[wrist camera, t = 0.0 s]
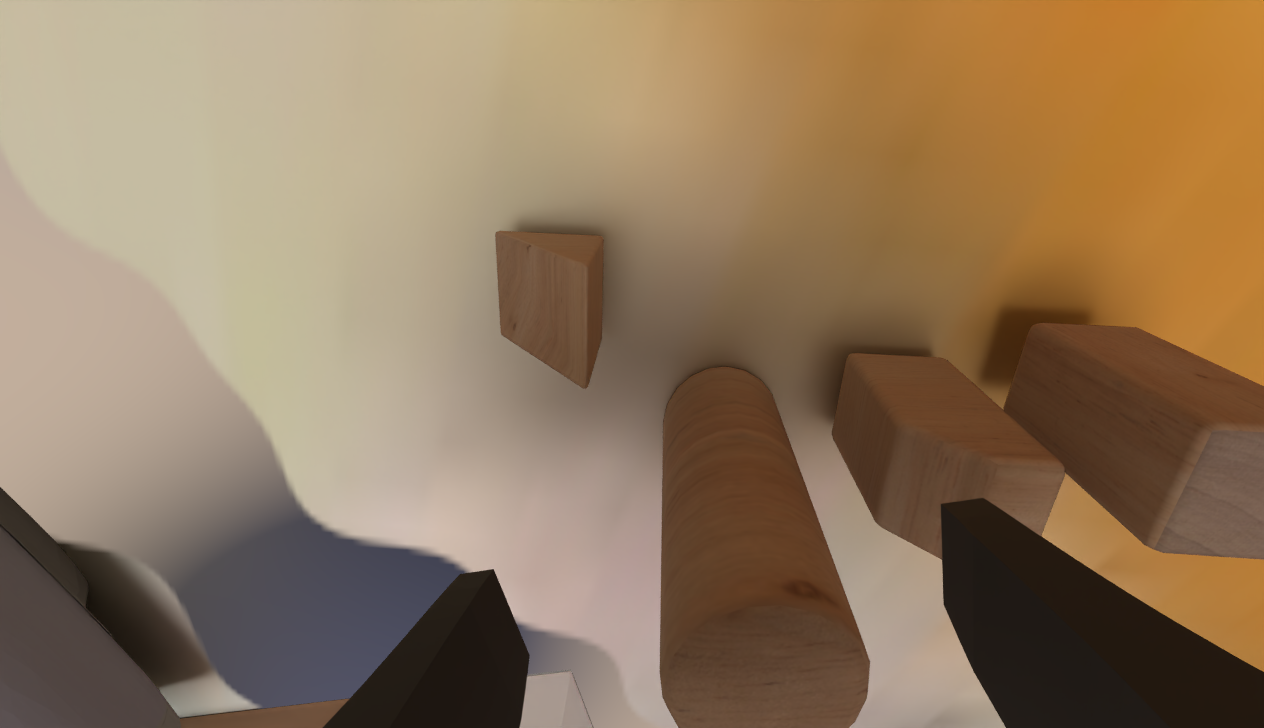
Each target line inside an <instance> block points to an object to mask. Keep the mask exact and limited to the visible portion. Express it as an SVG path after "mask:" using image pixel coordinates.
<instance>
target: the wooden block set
mask: <svg viewBox="0 0 1264 728" xmlns="http://www.w3.org/2000/svg"><path fill="white" fill-rule="evenodd" d="M495 236H496V254H497V272H498V290H499V308H500V326H501V334H502V335H503V336H504V337H506V338H507V339H509V340H510V341H512V342H513V343H515V344H516V345H518V346H519V347H521V348H522V349H524V350H525V351H527V352H529V353H530V354H532V355H533V356H535V357H536V358H538V359H539V360H541V361H542V362H544V363H545V364H547V365H548V366H550V367H551V368H553V369H554V370H556V371H558V372H559V373H561V374H562V375H564V376H565V377H567V378H568V379H570V380H571V381H573V382H574V383H576V384H577V385H579V386H580V387H582V388H585V389H586V388H587V387H588V385H589V381H590V378H591V374H592V371H593V367H594V364H595V360H596V357H597V353H598V350H599V346H600V343H601V339H602V298H603V241H604V240H603V237H602V236H595V235H574V234H553V233H532V232H511V231H498V232H496V234H495ZM832 436H833V439H834V441H835V443H836V445H837V447H838V449H839V451H840V453H841V455H842V457H843V459H844V461H845V463H846V465H847V467H848V469H849V471H850V473H851V475H852V477H853V479H854V481H855V483H856V485H857V487H858V489H859V490H860V492H861V494H862V496H863V498H864V500H865V502H866V504H867V506H868V508H869V510H870V512H871V514H872V516H873V518H874V520H875V522H876V523H877V524H878V525H880V526H881V527H882V528H884V529H886V530H888V531H889V532H891V533H893V534H895V535H897V536H899V537H901V538H903V539H904V540H906V541H908V542H910V543H912V544H914V545H916V546H918V547H919V548H921V549H923V550H925V551H927V552H929V553H931V554H933V555H935V556H936V557H938V558H940V559H942V533H941V504H943V503H950V502H957V501H964V500H970V499H977V498H985V499H986V500H988V501H989V502H991V503H992V504H994V505H995V506H997V507H998V508H1000V509H1001V510H1003V511H1004V512H1006V513H1007V514H1009V515H1010V516H1012V517H1013V518H1015V519H1016V520H1018V521H1019V522H1020V523H1022V524H1023V525H1025V526H1026V527H1028V528H1029V529H1031V530H1032V531H1034V532H1035V533H1037V534H1038V535H1040V536H1041V535H1042V532H1043V530H1044V527H1045V525H1046V522H1047V520H1048V517H1049V515H1050V512H1051V509H1052V507H1053V504H1054V502H1055V499H1056V497H1057V494H1058V492H1059V489H1060V487H1061V484H1062V481H1063V479H1064V476H1065V473H1066V474H1067V475H1069V476H1070V477H1071V478H1072V479H1073V480H1074V481H1075V482H1076V483H1077V484H1078V485H1080V486H1081V487H1082V488H1083V489H1084V490H1085V491H1086V492H1087V493H1088V494H1089V495H1090V496H1092V497H1093V498H1094V499H1095V500H1096V501H1097V502H1098V503H1099V504H1100V505H1101V506H1103V507H1104V508H1105V509H1106V510H1107V511H1108V512H1109V513H1110V514H1111V515H1112V516H1114V517H1115V518H1116V519H1117V520H1118V521H1119V522H1120V523H1121V524H1122V525H1123V526H1124V527H1126V528H1127V529H1128V530H1129V531H1130V532H1131V533H1132V534H1133V535H1134V536H1135V537H1137V538H1138V539H1139V540H1140V541H1141V542H1142V543H1143V544H1144V545H1146V546H1148V547H1150V548H1152V549H1154V550H1157V551H1160V552H1163V553H1174V554H1189V555H1204V556H1219V557H1235V558H1250V559H1264V386H1262V385H1260V384H1257V383H1255V382H1253V381H1251V380H1249V379H1247V378H1245V377H1242V376H1240V375H1238V374H1236V373H1234V372H1232V371H1229V370H1227V369H1225V368H1223V367H1221V366H1219V365H1217V364H1214V363H1212V362H1210V361H1208V360H1206V359H1204V358H1201V357H1199V356H1197V355H1195V354H1193V353H1191V352H1189V351H1186V350H1184V349H1182V348H1180V347H1178V346H1176V345H1173V344H1171V343H1169V342H1167V341H1165V340H1163V339H1161V338H1158V337H1156V336H1154V335H1152V334H1150V333H1148V332H1145V331H1143V330H1141V329H1139V328H1136V327H1117V326H1097V325H1078V324H1059V323H1038V324H1034V325H1033V326H1032V327H1031V328H1030V329H1029V331H1028V334H1027V338H1026V341H1025V344H1024V347H1023V350H1022V353H1021V356H1020V359H1019V362H1018V365H1017V368H1016V371H1015V374H1014V377H1013V381H1012V384H1011V387H1010V390H1009V393H1008V396H1007V399H1006V402H1005V405H1004V410H1002V409H1001V408H1000V407H999V406H998V405H997V404H996V403H995V402H993V401H992V400H991V399H990V398H989V397H988V396H987V395H986V394H985V393H983V392H982V391H981V390H980V389H979V388H978V387H977V386H976V385H974V384H973V383H972V382H971V381H970V380H969V379H968V378H967V377H966V376H964V375H963V374H962V373H961V372H960V371H959V370H958V369H957V368H955V367H954V366H953V365H952V364H951V363H950V362H949V361H948V360H946V359H943V358H936V357H918V356H900V355H881V354H863V353H853V354H849V356H848V357H847V360H846V364H845V369H844V374H843V379H842V384H841V389H840V394H839V399H838V404H837V409H836V414H835V419H834V424H833V429H832ZM869 668H870V661H869V658H868V655H867V652H866V649H865V646H864V643H863V641H862V638H861V635H860V632H859V629H858V627H857V624H856V621H855V619H854V616H853V613H852V610H851V608H850V605H849V602H848V599H847V597H846V594H845V591H844V589H843V586H842V583H841V580H840V578H839V575H838V572H837V570H836V567H835V564H834V561H833V559H832V556H831V553H830V550H829V548H828V545H827V542H826V540H825V537H824V534H823V531H822V529H821V526H820V523H819V521H818V518H817V515H816V512H815V510H814V507H813V504H812V502H811V499H810V496H809V493H808V491H807V488H806V485H805V482H804V480H803V477H802V474H801V472H800V469H799V466H798V463H797V461H796V458H795V455H794V453H793V450H792V447H791V444H790V442H789V439H788V436H787V433H786V431H785V428H784V425H783V423H782V420H781V417H780V414H779V412H778V409H777V406H776V404H775V401H774V398H773V395H772V393H771V392H770V391H769V390H768V389H767V387H766V386H765V385H764V384H763V382H762V381H761V380H760V379H758V378H756V377H755V376H753V375H752V374H750V373H748V372H747V371H745V370H740V369H736V368H731V367H716V368H708V369H706V370H704V371H701V372H699V373H697V374H695V375H692V376H691V377H689V378H688V379H687V380H686V381H685V382H684V383H683V384H681V385H680V386H679V387H678V388H677V389H676V391H675V392H674V394H673V396H672V397H671V399H670V401H669V402H668V404H667V408H666V412H665V417H664V421H663V479H662V552H661V624H660V678H661V686H662V695H663V699H664V701H665V703H666V705H667V707H668V709H669V711H670V713H671V715H672V717H673V718H674V720H675V722H676V724H677V726H678V728H849V727H850V726H851V725H852V724H853V723H854V722H855V721H856V718H857V716H858V714H859V712H860V710H861V708H862V706H863V704H864V702H865V700H866V698H867V692H868V681H869Z"/></svg>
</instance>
